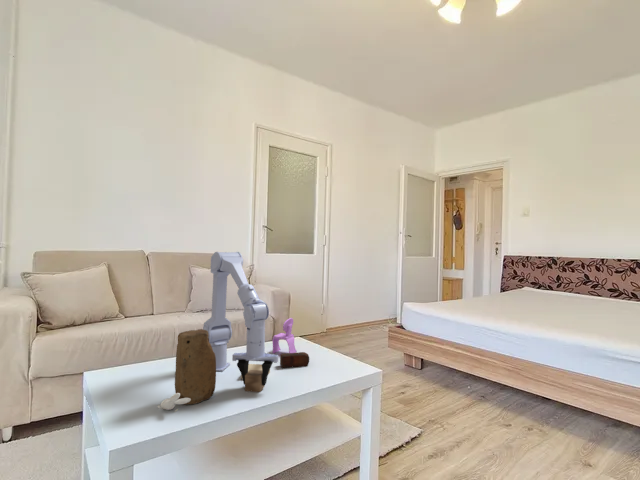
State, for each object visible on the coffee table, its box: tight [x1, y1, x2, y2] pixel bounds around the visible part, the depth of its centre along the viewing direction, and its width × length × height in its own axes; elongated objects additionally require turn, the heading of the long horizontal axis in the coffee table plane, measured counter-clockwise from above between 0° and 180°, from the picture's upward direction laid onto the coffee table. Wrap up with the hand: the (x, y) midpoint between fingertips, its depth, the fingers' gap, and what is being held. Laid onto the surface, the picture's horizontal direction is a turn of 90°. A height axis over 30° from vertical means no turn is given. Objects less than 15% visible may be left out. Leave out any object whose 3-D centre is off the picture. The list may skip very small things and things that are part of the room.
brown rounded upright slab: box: [174, 328, 217, 405], centre depth 103 cm, size 11×8×20 cm
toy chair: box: [272, 317, 298, 354], centre depth 150 cm, size 8×9×15 cm
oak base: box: [240, 363, 271, 380], centre depth 122 cm, size 8×8×3 cm
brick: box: [279, 351, 310, 369], centre depth 133 cm, size 11×4×5 cm, turn 110°
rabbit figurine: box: [157, 393, 191, 413], centre depth 95 cm, size 6×4×8 cm
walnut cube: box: [244, 370, 265, 393], centre depth 111 cm, size 5×5×5 cm
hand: (255, 383), depth 111 cm, fingers open, 5 cm apart
